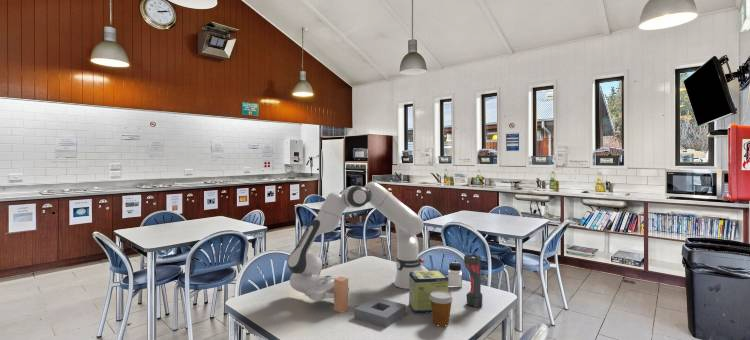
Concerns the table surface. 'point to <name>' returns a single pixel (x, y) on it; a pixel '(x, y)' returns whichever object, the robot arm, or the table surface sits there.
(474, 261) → the flashlight
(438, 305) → the disposable coffee cup
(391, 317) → the socket block
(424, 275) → the protein box
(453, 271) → the medicine bottle
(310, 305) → the table surface
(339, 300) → the plug block
